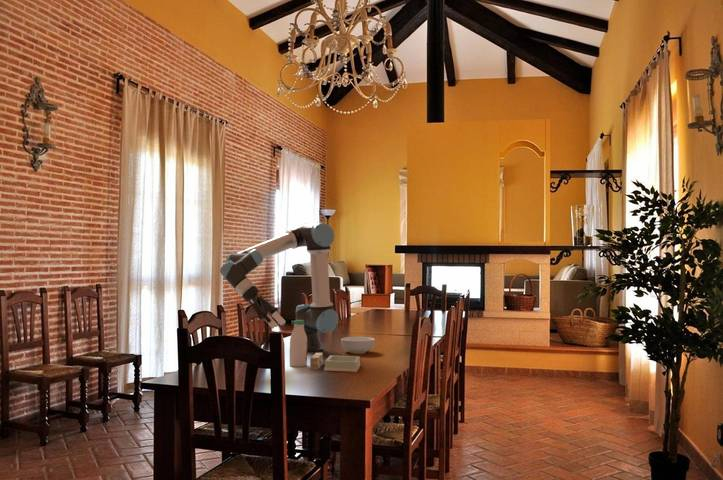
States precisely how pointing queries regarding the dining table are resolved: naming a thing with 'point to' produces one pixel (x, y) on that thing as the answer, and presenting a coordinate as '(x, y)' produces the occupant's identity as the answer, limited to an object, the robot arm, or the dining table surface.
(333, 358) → the cradle
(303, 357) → the milk bottle
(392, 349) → the dining table surface
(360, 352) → the cereal bowl
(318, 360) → the board
